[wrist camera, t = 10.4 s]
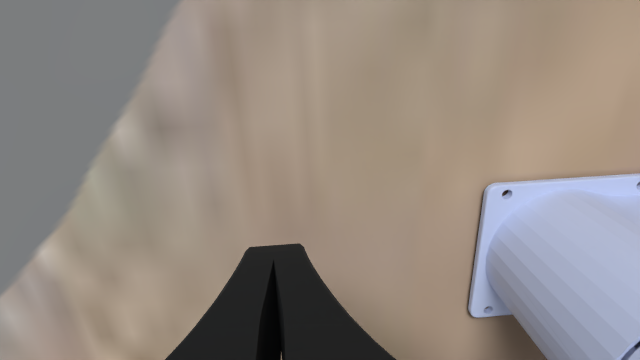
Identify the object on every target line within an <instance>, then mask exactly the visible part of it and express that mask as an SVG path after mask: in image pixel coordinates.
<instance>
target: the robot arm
mask: <svg viewBox="0 0 640 360" xmlns="http://www.w3.org/2000/svg"><path fill="white" fill-rule="evenodd" d="M639 182H640V173H639V174H624V175H609V176H593V177H578V178H563V179H548V180H533V181H517V182H502V183H493V184H490V185H489V186H487V188H486V189H485V191H484V196H483V204H482V211H481V218H480V225H479V233H478V240H477V247H476V254H475V262H474V269H473V276H472V283H471V291H470V298H469V305H468V310H469V312H470V314H471V315H472V316H473V317H477V318H479V317H490V316H501V315H512V314H513V315H514V317H515V318H516V319H517V321H518V322H519V323H520V325H521V326H522V327H523V328H524V330H525V331H526V332H527V334H528V335H529V336H530V338H531V339H532V340H533V341H534V343H535V344H536V345H537V347H538V348H539V349H540V351H541V352H542V353H543V354H544V356H545V357H546V358H547V360H640V183H639ZM638 183H639V185H638V186H637V184H638ZM505 190H508V193H507V194H506V195H504V196H502V193H503V192H504V191H505ZM488 306H489V307H488ZM486 307H488V308H487V309H485V308H486ZM281 353H282V360H396V359H395V358H393V357H392V356H391V355H390V354H389V353H388V352H387V351H385V350H384V349H383V348H382V347H381V346H380V345H379V344H378V343H376V342H375V341H374V340H373V339H372V338H371V337H370V336H369V335H368V334H367V333H366V332H365V331H364V330H363V329H362V328H361V327H360V326H359V325H358V324H357V323H356V322H355V321H354V319H353V318H352V317H351V316H350V315H349V314H348V313H347V312H346V310H345V309H344V308H343V307H342V306H341V304H340V303H339V302H338V301H337V300H336V298H335V297H334V296H333V294H332V293H331V292H330V290H329V289H328V288H327V286H326V285H325V283H324V282H323V281H322V279H321V278H320V276H319V275H318V273H317V272H316V270H315V268H314V267H313V265H312V263H311V262H310V260H309V258H308V256H307V254H306V252H305V249H304V247H303V246H302V245H301V244H286V245H273V246H259V247H249V248H248V250H247V251H246V252H245V254H244V256H243V257H242V259H241V261H240V263H239V265H238V266H237V268H236V270H235V271H234V273H233V275H232V276H231V278H230V279H229V281H228V282H227V284H226V285H225V287H224V288H223V290H222V291H221V293H220V294H219V296H218V297H217V299H216V300H215V301H214V303H213V304H212V305H211V307H210V308H209V309H208V311H207V312H206V313H205V314H204V316H203V317H202V318H201V319H200V321H199V322H198V323H197V325H196V326H195V327H194V328H193V329H192V331H191V332H190V333H189V334H188V335H187V336H186V338H185V339H184V340H183V341H182V342H181V343H180V344H179V345H178V346H177V347H176V349H175V350H174V351H173V352H172V353H171V354H170V355H169V356H168V357H167V358H166V359H165V360H280V359H281Z"/></svg>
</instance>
